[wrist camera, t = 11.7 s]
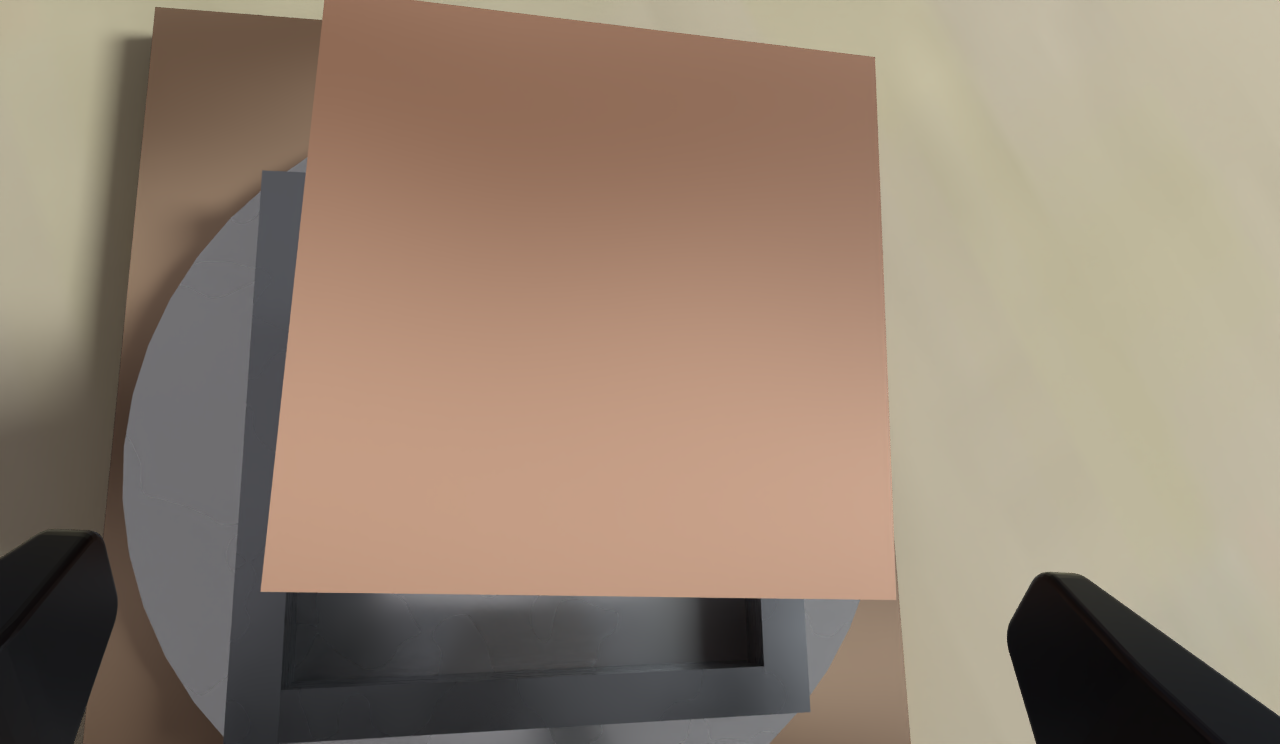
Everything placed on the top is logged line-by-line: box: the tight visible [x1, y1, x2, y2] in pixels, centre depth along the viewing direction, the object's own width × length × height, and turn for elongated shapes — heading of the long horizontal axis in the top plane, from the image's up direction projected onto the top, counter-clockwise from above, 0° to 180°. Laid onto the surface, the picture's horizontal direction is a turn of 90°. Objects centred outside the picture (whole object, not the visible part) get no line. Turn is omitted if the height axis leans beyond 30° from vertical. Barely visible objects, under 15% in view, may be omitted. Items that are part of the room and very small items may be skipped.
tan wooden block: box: [261, 0, 896, 600], centre depth 11 cm, size 4×4×10 cm
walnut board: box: [83, 7, 911, 744], centre depth 17 cm, size 18×15×1 cm
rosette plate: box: [123, 157, 860, 744], centre depth 16 cm, size 14×14×2 cm
